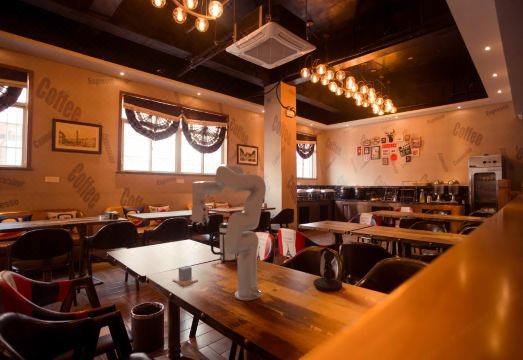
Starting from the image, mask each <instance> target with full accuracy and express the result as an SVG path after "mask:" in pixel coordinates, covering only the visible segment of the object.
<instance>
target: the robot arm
mask: <svg viewBox="0 0 523 360" xmlns="http://www.w3.org/2000/svg"><path fill="white" fill-rule="evenodd" d="M244 172H245V171H244V169H243V168H242V167H241V166H240V165H237V164H224V163H223V164H221V165H219V166H218V167H217V169H216V170H215V175H214V180H205V181H203V180H201V181H194V182H192V183H191V195H192V196H191V197H192V204H191V205H192V207H191V215H190V216H189V220H190V224H191V231H192V232H197V231H198V224H197V223H201V225H202V226H201V233H208V225H209V222H210V216H208V214H209V213H208V208H207V204H206V195H214V194H215V195H216V194H219V193H221V192H223V191H225V190H226V189H227V188H229V189H230V190H231V191H233V192H236V193H237V192H238V193H241V192H242V193H244V192H249V194H248V195H247V197H246V199H245V201H244V205H243V208H242V211H235V212H234V213H231V215H230V216H229V217H228V219H229V220H228V225H227V231H226V237H225V248H226V250H227V252H228V253H230V254H237V259H238V261H237V260H236V261H237V290H236V291H235V292H234V298H236V299H237V300H239V301H240V300H241V301H253V300H256V299H258V298H261V296H262V294H263V291H262V290H260V289H259V286H258V277H257V276H258V275H257V273H258V270H257V268H258V266H257V263H258V262H257V259H258V258H257V257H258V255H257V254H258V248H259V236H258V235H257V234H256V233H255V232H254V231H252V230H255V229H257V228H258V226H259V224H260V218H261V213H262V208H263V202H264V199H265V195H266V191H267V189H266V188H267V186H266V181H265V180H264V178H262V176H260V175H258V174H254V173H244Z"/></svg>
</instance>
